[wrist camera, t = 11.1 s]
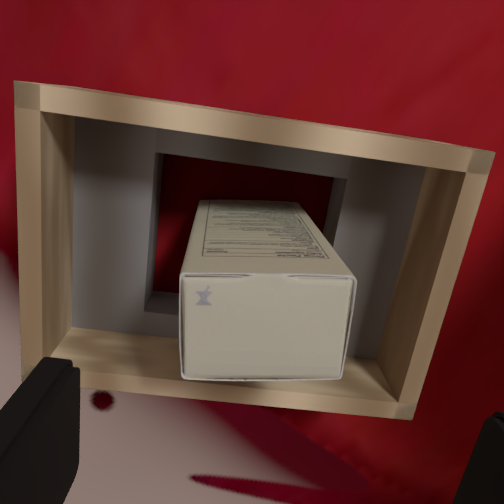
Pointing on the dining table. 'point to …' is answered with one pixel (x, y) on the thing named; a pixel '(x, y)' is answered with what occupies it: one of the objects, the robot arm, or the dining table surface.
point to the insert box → (146, 229)
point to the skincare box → (262, 296)
